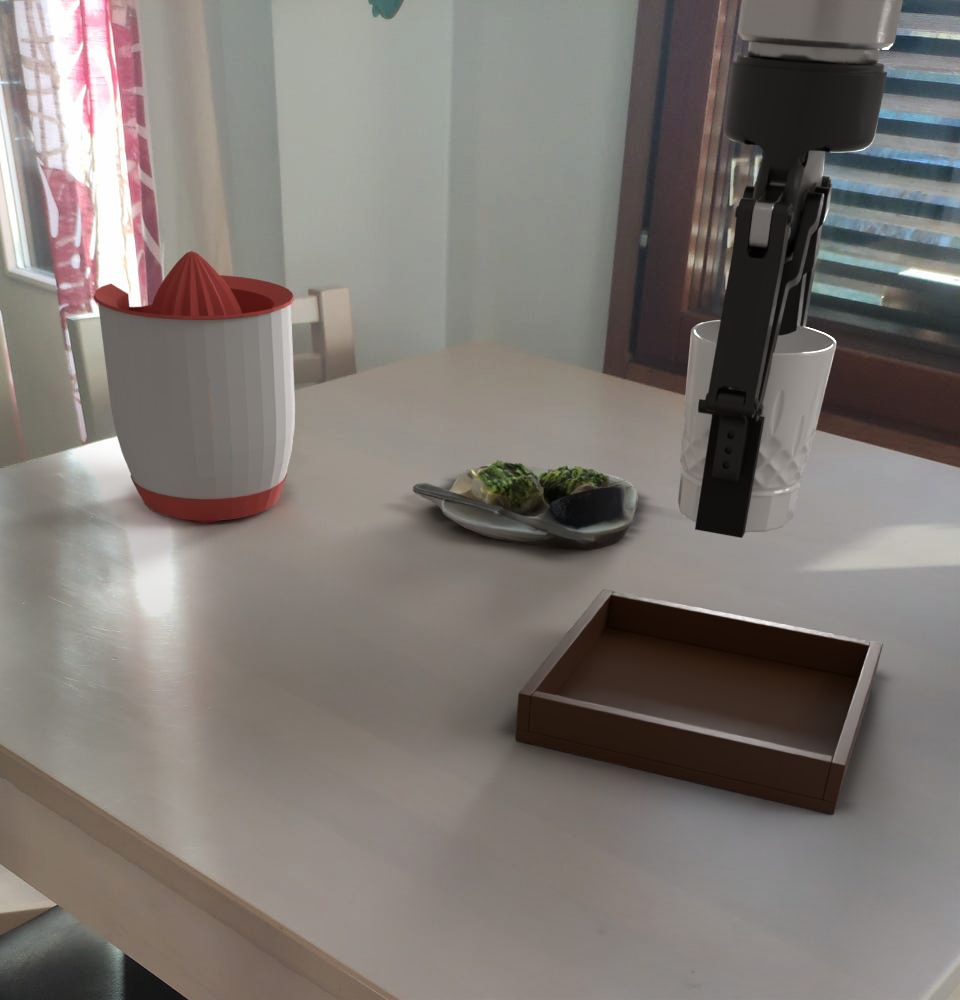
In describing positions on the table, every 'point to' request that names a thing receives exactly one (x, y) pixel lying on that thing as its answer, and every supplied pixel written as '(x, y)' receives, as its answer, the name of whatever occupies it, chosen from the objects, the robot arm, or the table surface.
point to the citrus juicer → (202, 391)
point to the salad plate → (539, 504)
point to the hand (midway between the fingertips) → (735, 508)
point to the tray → (704, 698)
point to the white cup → (785, 427)
